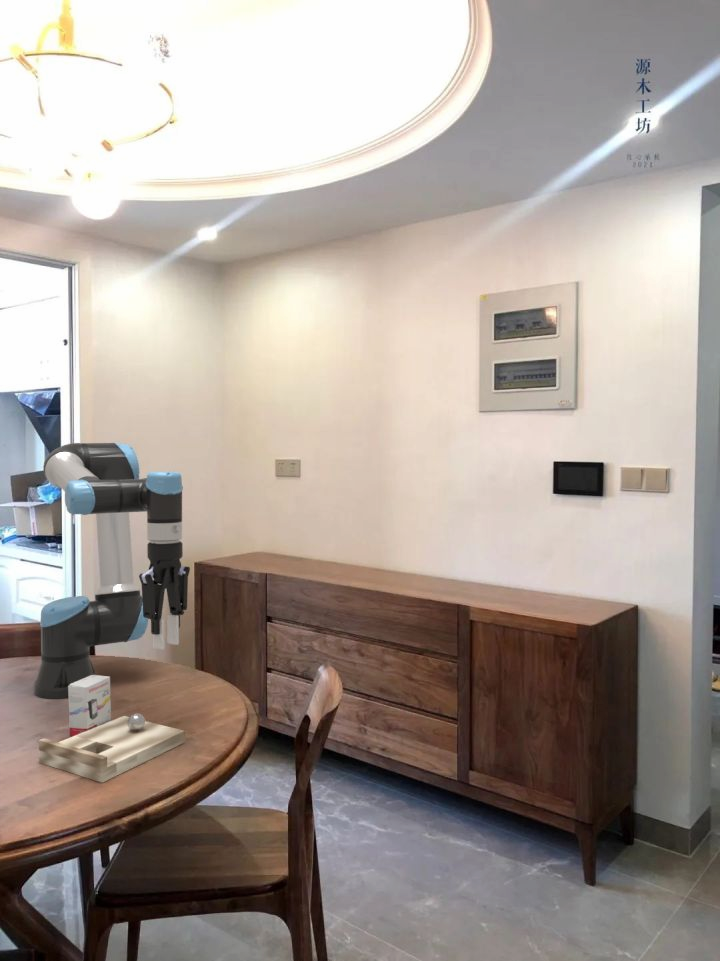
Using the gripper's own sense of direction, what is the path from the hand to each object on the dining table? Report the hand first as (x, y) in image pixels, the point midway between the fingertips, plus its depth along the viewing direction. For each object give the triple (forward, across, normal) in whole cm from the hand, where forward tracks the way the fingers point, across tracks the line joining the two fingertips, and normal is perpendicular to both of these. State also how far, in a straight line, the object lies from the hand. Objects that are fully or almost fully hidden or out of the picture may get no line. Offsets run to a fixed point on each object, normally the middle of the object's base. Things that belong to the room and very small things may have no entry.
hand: (166, 645), depth 165 cm
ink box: (+19, -10, +12) cm, 25 cm away
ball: (+14, -9, 0) cm, 17 cm away
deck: (+19, -15, 0) cm, 24 cm away
